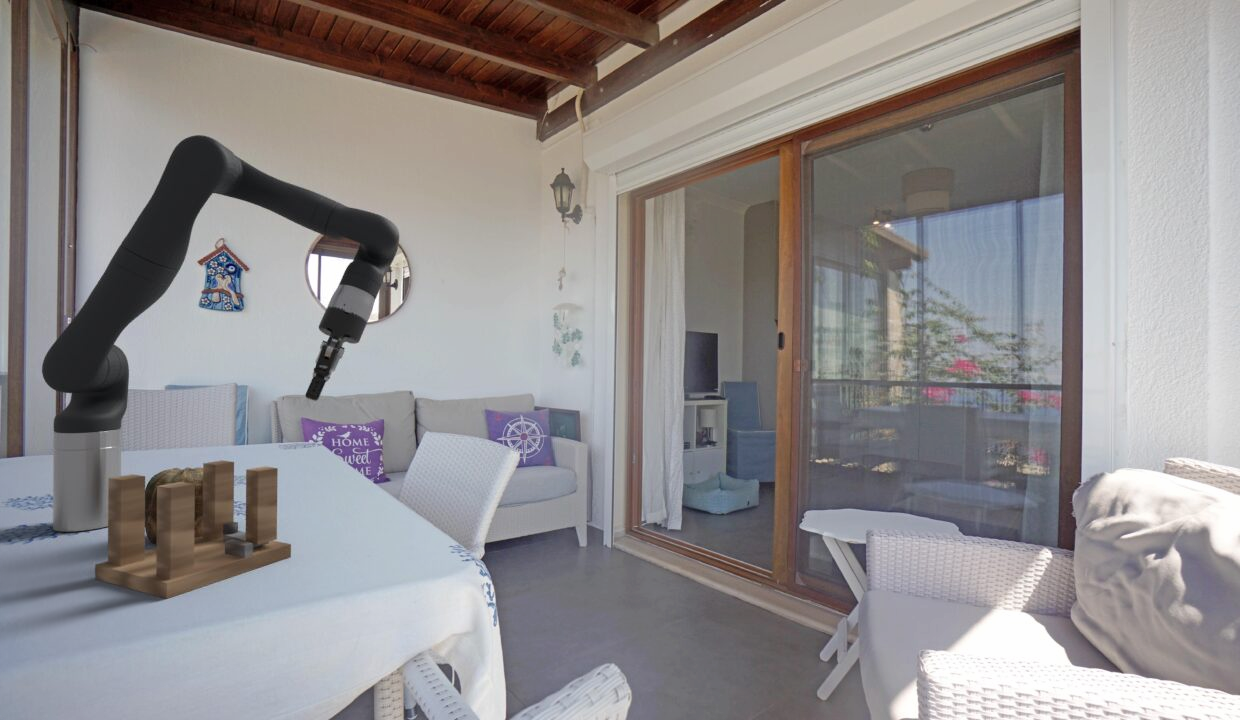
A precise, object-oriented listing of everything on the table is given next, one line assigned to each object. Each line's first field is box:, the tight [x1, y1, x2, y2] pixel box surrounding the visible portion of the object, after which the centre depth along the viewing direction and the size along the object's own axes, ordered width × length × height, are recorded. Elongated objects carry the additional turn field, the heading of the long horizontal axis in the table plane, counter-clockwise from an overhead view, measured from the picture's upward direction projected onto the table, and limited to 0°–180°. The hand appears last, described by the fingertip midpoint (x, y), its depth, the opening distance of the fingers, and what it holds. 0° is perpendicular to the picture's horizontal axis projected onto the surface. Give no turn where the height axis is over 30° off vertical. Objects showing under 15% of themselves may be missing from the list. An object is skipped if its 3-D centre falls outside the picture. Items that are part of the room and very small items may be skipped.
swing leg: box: [223, 465, 279, 548], centre depth 95 cm, size 10×3×12 cm, turn 62°
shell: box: [145, 466, 203, 545], centre depth 104 cm, size 11×11×12 cm
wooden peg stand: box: [94, 459, 292, 600], centre depth 90 cm, size 16×18×14 cm
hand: (311, 398), depth 111 cm, fingers closed
